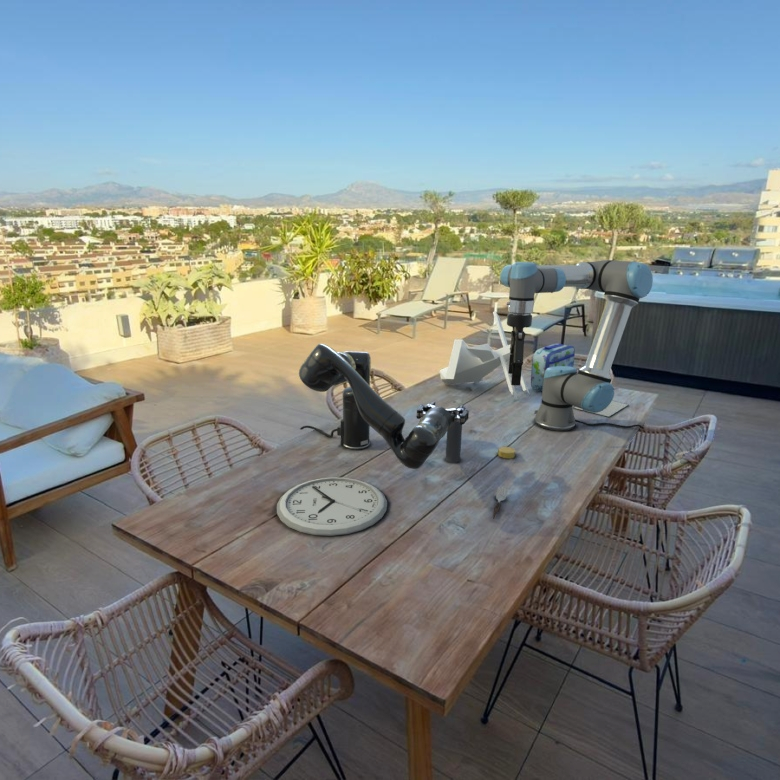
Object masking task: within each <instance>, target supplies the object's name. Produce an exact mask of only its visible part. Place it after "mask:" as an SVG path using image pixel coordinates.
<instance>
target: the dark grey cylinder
mask: <svg viewBox="0 0 780 780" xmlns="http://www.w3.org/2000/svg"><path fill="white" fill-rule="evenodd" d="M452 413H453V412H452ZM457 415H458V413H457ZM462 434H463V425H461V424H460V422H459V421H455V422H453V423H452V424H451V426H450V427H449V429H448V430H447V432H446V443H445V446H446V447H445V461H446V462H447V463H450V464H457V463H459V462H461V449H462Z"/></svg>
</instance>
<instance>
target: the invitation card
mask: <svg viewBox="0 0 780 780" xmlns="http://www.w3.org/2000/svg"><path fill="white" fill-rule="evenodd" d="M628 406H629V404H627V403H623V402H618V401H614V400H612V401H611V403H610V404H609V406H608V407H607V408H606V409H604V410H603V411H601V412H598V413H595V414H596V415H600V416H604V417H608V418H609V417H611V416H613V415H614V414H616V413H617V412H619V411H621V410H623V409H624V408H626V407H628ZM573 409H575V410H581V411H584V412H586V411H585V410H583V409H581V408H578V407H576V406H573ZM587 413H593V412H590V411H587ZM593 414H594V413H593Z"/></svg>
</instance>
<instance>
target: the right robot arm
mask: <svg viewBox="0 0 780 780" xmlns="http://www.w3.org/2000/svg"><path fill="white" fill-rule="evenodd" d="M653 281H654V277H653V271H652V270H651V267H650V266H649V265H648V264H646V263H644V262H639V261H633V260H632V261H630V260H629V261H627V260H613V259H603V260H594V261H582V262H579V263H577V264H545V265H544V264H543V265H542V264H541V265H540V264H539V265H538V264H537V263H536V262H531V261H516V262H513V263H512V264H508V265H505V266H504V267H503V268H502V270H501V271H500V282H501V284H502V285H503V287H507V288H509V294H508V302H506V306H508V307H507V311H508V313H507V316H506V325H507V326H508V327H511V328H512V330H511V332H510V334H511V336H510V344H511V345H510V344H509V345H510V360H508V368H509V371H508V374H510V375H511V378H512V380H511V385H514V386H521V372H522V371H523V365H524V350H525V349H524V348H525V339H526V332H525V331H524V329H525V328H530V327H532V323H533V315H532V314H533V312H534V303H535V294H546V293H547V294H548V293H550V294H553V293H558V292H560V291H562V290H563V289H564V288H567V287H568V288H569V287H571V288H572V287H575V288H577V289H578V290H589V291H594V292H599V293H604V294H603V298H604V299H605V305H604V308H603V311H602V314H601V317H600V319H599V323H598V326H597V329H596V331H595V334H594V337H593V340H592V343H591V345H590V349H589V352H588V354H587V358H586V361H585V363H584V366H582V367H580V368H579V369H577V367H574V366H573V367H569V366H555V367H549V368H547V369H546V370H545V374H544V378H543V379H544V380H543V390H541V391H542V392H541V402H540V405H539V407H538V409H535V410H534V415H535V416H534V424H535V425H536V426H537V427H539V428H542V429H544V430H549V431H556V432H567V431H572V430H574V429H575V428H576V423H578V424H582V425H585V426H592V427H594V426H595V427H596V426H603V425H604V426H613V427H618V428H622V429H623V428H624V429H631V428H635V427H638V428H640V429H641V430H642V429H643V430H645V427H644V426H642V425H641V424H633V425H622V424H616V423H612V422H596V423H588V422H585V421H583V420H578V419H576V418H575V417H576V416H575V413H574V407H578V408H581V409H583V410H582V411H584V410H585V411H584V412H588V411H590V412H589V413H592V412H593V414H596V413H598V412H601V411H603V410H604V409H606V408H607V407H608V406H609V404H610V403H611V401H613V399H614V396H615V387H614V385H612V384H611V383H612V380H613V378H612V376H611V375H610V372H611V369H612V365H613V363H614V360H615V357H616V355H617V351H618V348H619V345H620V342H621V341H622V337H623V334H624V331H625V329H626V325H627V322H628V320H629V317H630V314H631V311H632V308H634V307H635V306H637V305H639V302H640V300H641V299H643V298H645V297H647V296H648V295H649V293H650V292H651V290H652V287H653V284H654V282H653ZM518 360H519V361H518Z"/></svg>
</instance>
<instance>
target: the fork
mask: <svg viewBox="0 0 780 780" xmlns="http://www.w3.org/2000/svg"><path fill="white" fill-rule="evenodd" d="M502 489H503V490H502ZM507 490H508V487H506V488H503V487H502V486H501V488H498V489H497V493H496V496H495V499H496V500H497V501H498V502H497V503H496V505H495V506H494V511H493V517H492V519H495V518H496V516H497V514H498V512H499V511H500V506H501V505H500V504H501V502H502V501H505V500H506V499H507V498H506V496H507Z"/></svg>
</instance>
